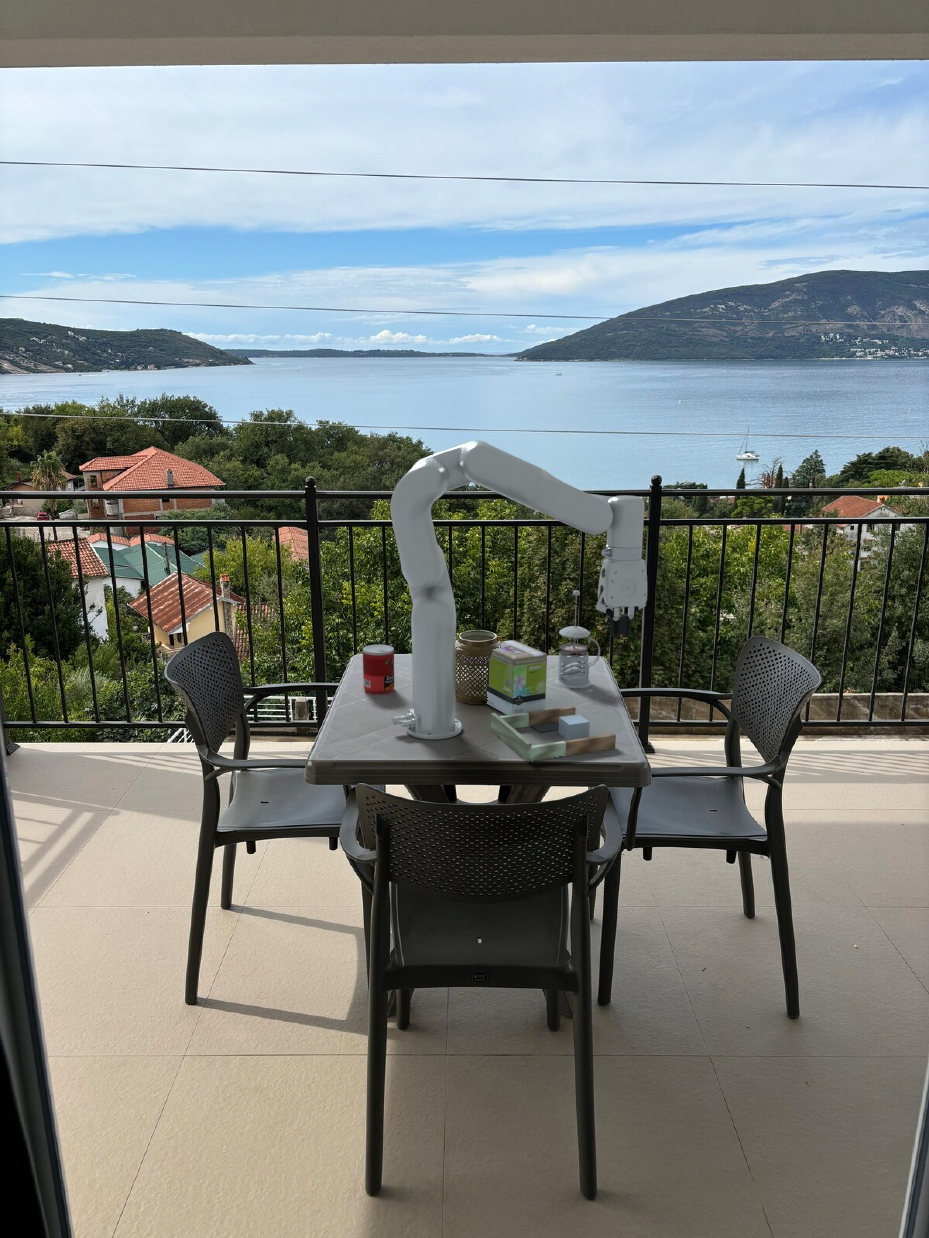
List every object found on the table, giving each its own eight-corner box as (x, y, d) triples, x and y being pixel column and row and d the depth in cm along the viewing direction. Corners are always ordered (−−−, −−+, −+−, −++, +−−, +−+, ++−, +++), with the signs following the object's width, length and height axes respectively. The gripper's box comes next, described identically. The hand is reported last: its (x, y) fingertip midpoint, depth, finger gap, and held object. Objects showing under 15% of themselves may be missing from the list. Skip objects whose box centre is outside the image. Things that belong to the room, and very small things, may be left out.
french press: (552, 676, 235) (556, 585, 228) (596, 677, 234) (600, 586, 228) (555, 688, 225) (558, 594, 219) (600, 689, 225) (604, 594, 218)
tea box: (546, 712, 208) (548, 653, 205) (511, 719, 203) (512, 659, 200) (512, 694, 221) (514, 637, 217) (478, 700, 216) (479, 643, 212)
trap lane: (526, 762, 180) (527, 744, 179) (490, 729, 197) (490, 713, 196) (615, 748, 187) (616, 730, 186) (573, 718, 204) (573, 702, 203)
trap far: (539, 732, 195) (539, 731, 195) (530, 726, 199) (530, 725, 199) (563, 729, 197) (563, 728, 197) (554, 722, 202) (554, 721, 201)
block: (568, 741, 191) (569, 724, 190) (558, 733, 195) (558, 716, 194) (588, 738, 193) (589, 721, 192) (578, 730, 197) (578, 714, 196)
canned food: (390, 695, 219) (390, 653, 216) (359, 693, 220) (358, 651, 217) (397, 685, 226) (397, 645, 224) (367, 684, 228) (367, 643, 225)
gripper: (600, 559, 181) (596, 643, 186) (664, 554, 187) (659, 637, 192) (583, 553, 188) (579, 635, 193) (645, 548, 194) (640, 628, 198)
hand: (619, 635), depth 192 cm, fingers closed
